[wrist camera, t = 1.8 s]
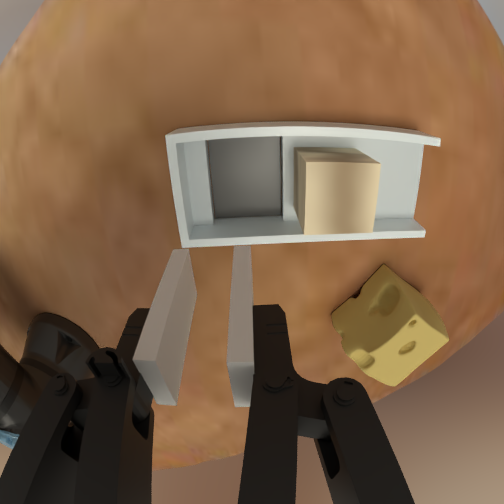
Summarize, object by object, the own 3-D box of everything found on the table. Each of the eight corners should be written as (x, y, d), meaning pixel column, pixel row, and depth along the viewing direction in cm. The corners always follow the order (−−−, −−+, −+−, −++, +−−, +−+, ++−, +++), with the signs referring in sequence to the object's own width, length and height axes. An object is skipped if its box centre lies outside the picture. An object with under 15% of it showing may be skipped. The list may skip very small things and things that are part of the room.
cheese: (328, 313, 38) (346, 372, 29) (385, 257, 33) (420, 310, 25) (373, 337, 41) (393, 389, 32) (424, 291, 37) (455, 339, 28)
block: (293, 207, 28) (304, 235, 23) (293, 147, 25) (306, 161, 20) (350, 205, 28) (372, 232, 23) (355, 148, 25) (380, 163, 20)
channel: (190, 226, 31) (182, 247, 27) (177, 128, 25) (165, 135, 22) (406, 219, 31) (424, 237, 27) (417, 130, 25) (440, 138, 21)
